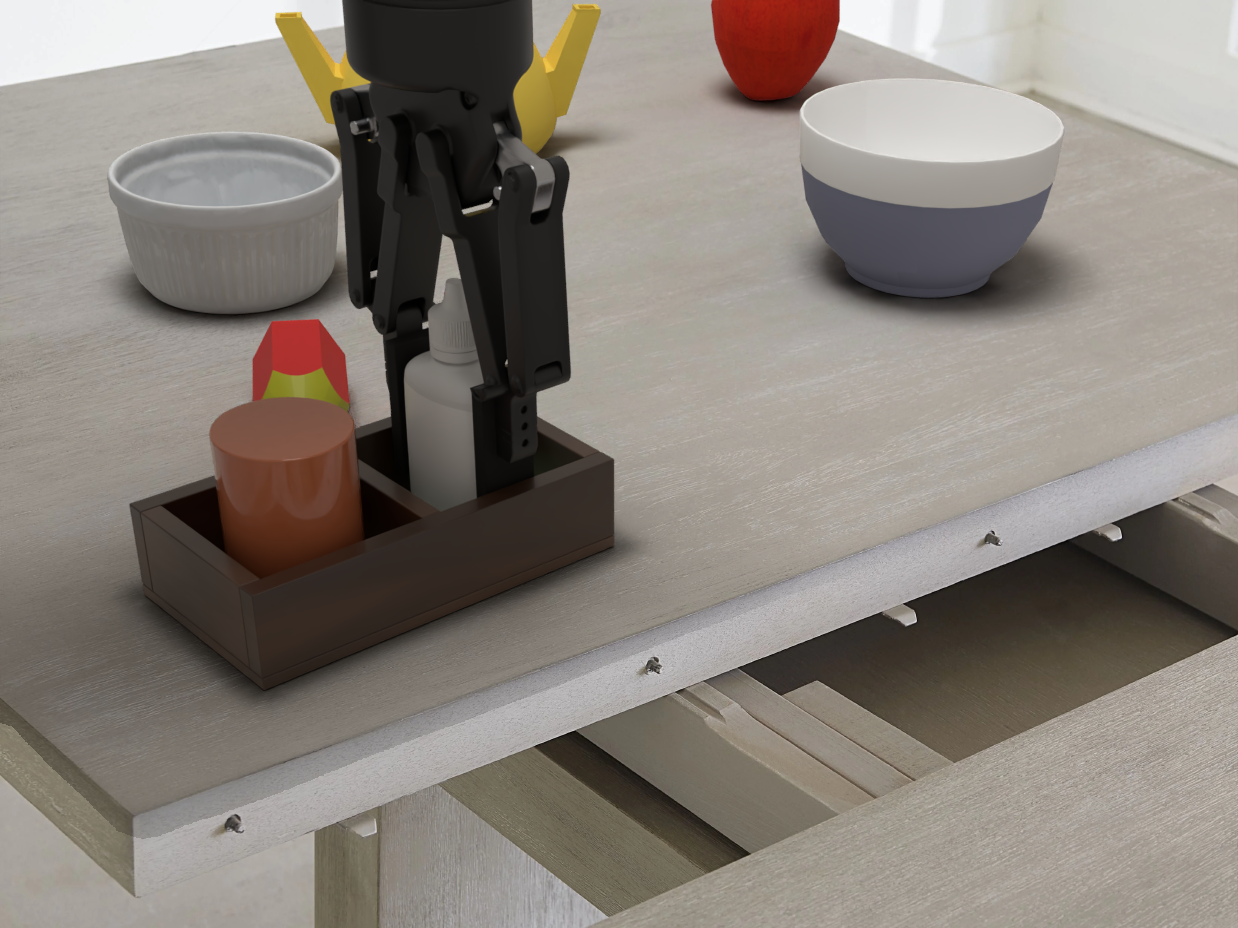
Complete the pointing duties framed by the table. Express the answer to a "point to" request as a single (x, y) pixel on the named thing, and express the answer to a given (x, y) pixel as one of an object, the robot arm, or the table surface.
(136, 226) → the ramekin
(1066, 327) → the table surface
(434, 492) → the eye dropper bottle
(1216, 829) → the table surface
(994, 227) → the bowl
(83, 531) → the table surface
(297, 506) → the glossy orange cylinder
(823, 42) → the apple
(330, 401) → the pencil
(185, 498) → the divided wooden box
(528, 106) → the teapot
